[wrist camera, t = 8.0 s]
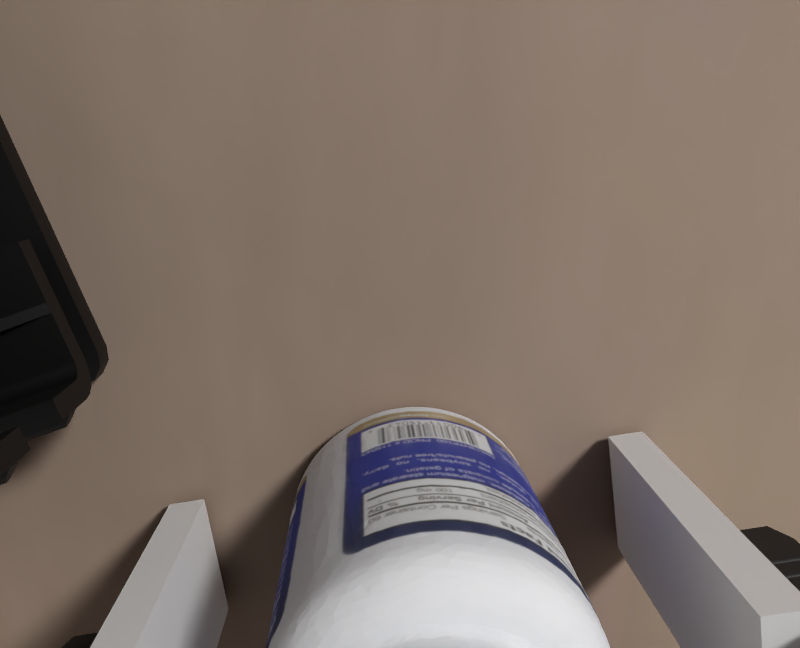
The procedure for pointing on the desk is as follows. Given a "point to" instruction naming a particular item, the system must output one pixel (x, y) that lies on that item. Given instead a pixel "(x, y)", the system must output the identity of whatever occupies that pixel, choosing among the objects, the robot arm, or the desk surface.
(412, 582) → the pill bottle
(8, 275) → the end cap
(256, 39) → the desk surface
